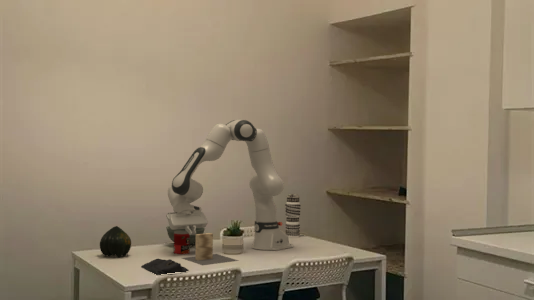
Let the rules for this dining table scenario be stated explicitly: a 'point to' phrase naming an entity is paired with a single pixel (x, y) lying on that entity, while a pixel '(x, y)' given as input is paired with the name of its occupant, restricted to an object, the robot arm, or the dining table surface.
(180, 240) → the canned food
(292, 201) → the decorative candle
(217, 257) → the rubber mat
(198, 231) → the bowl
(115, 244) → the squash
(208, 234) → the beech tile
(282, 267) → the dining table surface
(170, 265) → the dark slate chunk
